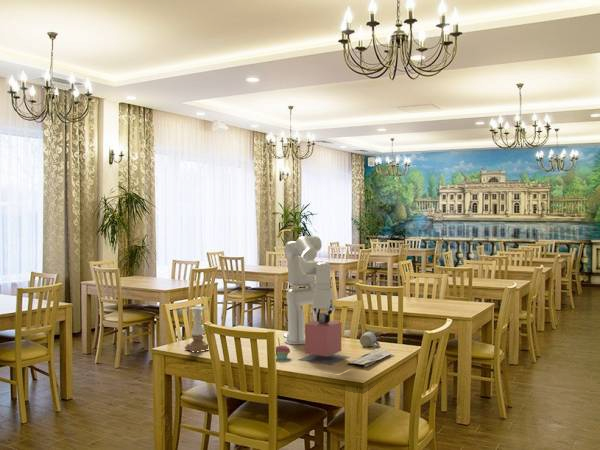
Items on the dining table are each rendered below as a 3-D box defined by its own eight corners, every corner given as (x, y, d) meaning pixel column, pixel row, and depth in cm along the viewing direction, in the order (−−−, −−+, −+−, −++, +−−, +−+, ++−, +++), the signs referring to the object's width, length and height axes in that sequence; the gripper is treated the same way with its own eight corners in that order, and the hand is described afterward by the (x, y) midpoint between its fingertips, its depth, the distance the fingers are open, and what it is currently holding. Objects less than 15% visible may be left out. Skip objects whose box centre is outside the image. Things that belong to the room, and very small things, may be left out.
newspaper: (372, 353, 320) (372, 346, 320) (394, 355, 314) (394, 348, 314) (345, 367, 289) (345, 360, 289) (368, 370, 283) (368, 363, 283)
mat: (297, 361, 302) (297, 359, 302) (318, 353, 318) (318, 352, 318) (330, 366, 290) (330, 364, 290) (350, 358, 307) (350, 356, 307)
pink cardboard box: (305, 353, 303) (305, 314, 302) (320, 347, 314) (319, 310, 314) (327, 356, 295) (326, 316, 295) (341, 350, 307) (341, 312, 306)
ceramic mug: (358, 346, 334) (358, 333, 333) (363, 344, 341) (363, 330, 341) (376, 348, 329) (376, 335, 329) (381, 345, 336) (381, 332, 336)
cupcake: (277, 362, 300) (277, 338, 300) (270, 358, 308) (270, 335, 308) (292, 360, 304) (292, 336, 304) (285, 356, 312) (285, 334, 312)
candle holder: (194, 353, 322) (194, 309, 322) (184, 350, 330) (183, 307, 330) (211, 350, 329) (211, 307, 329) (201, 347, 338) (200, 305, 337)
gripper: (305, 286, 306) (305, 321, 306) (333, 288, 296) (333, 324, 297) (313, 284, 312) (313, 319, 312) (340, 287, 302) (341, 322, 303)
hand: (323, 321), depth 304 cm, fingers closed on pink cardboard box, 4 cm apart
